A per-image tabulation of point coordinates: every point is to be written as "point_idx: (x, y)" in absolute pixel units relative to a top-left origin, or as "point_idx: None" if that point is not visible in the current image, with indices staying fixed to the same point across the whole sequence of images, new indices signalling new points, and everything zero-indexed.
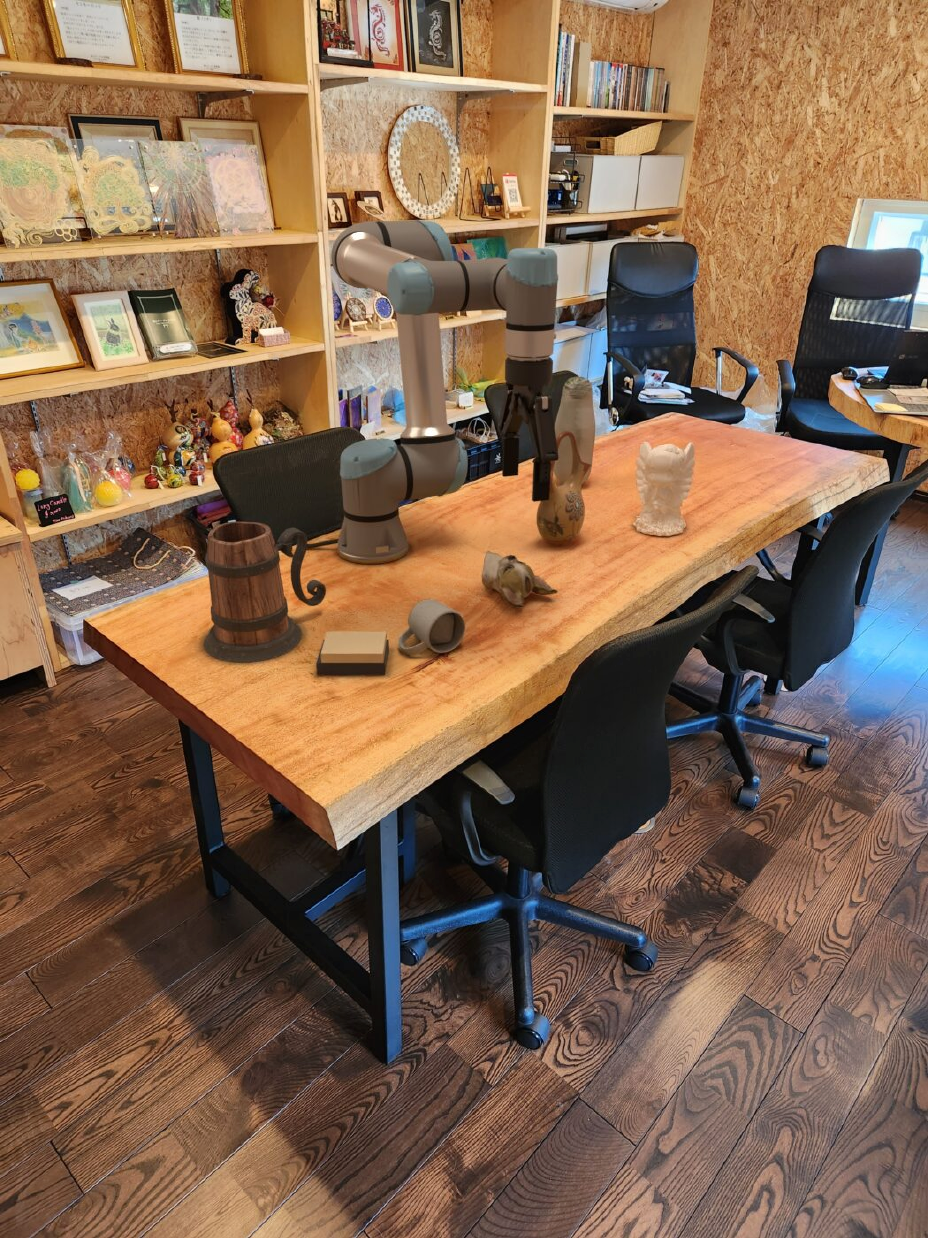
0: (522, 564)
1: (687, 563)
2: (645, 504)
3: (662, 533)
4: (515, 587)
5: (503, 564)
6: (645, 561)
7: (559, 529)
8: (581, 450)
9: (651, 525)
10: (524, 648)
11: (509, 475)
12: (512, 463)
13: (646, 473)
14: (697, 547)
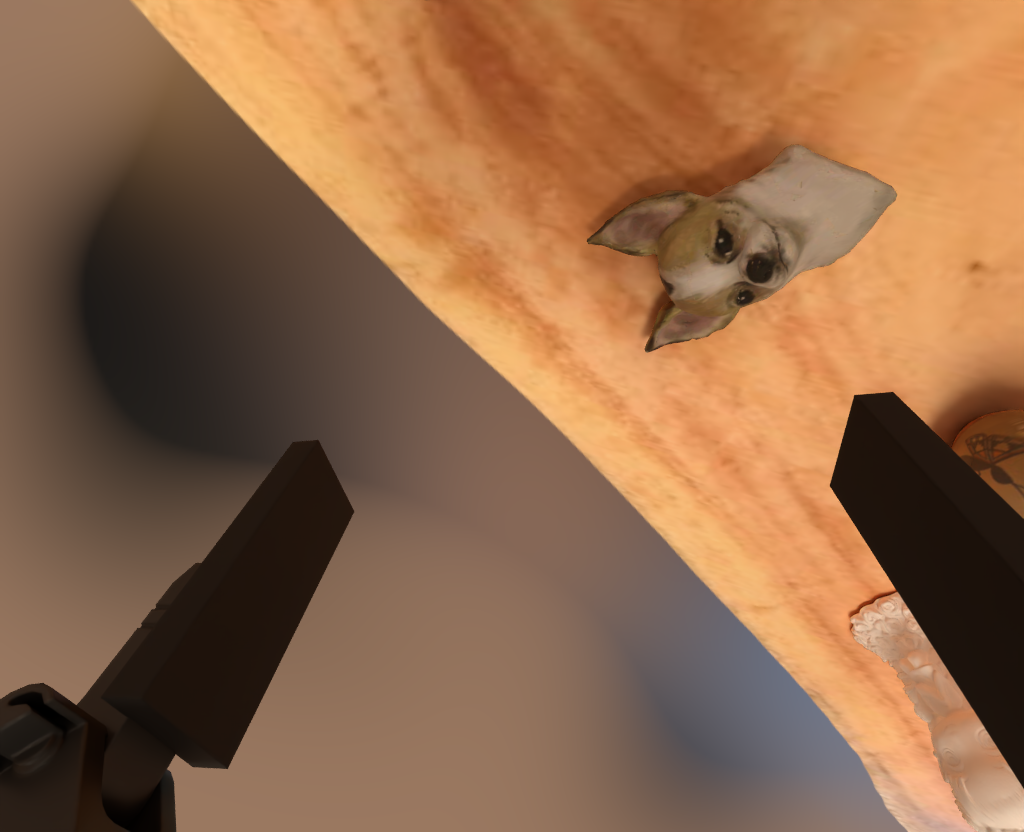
0: (723, 294)
1: (722, 596)
2: None
3: (862, 614)
4: (664, 243)
5: (750, 231)
6: (765, 549)
7: (970, 462)
8: None
9: (897, 616)
10: (424, 197)
11: (844, 437)
12: (890, 522)
13: None
14: (779, 629)
